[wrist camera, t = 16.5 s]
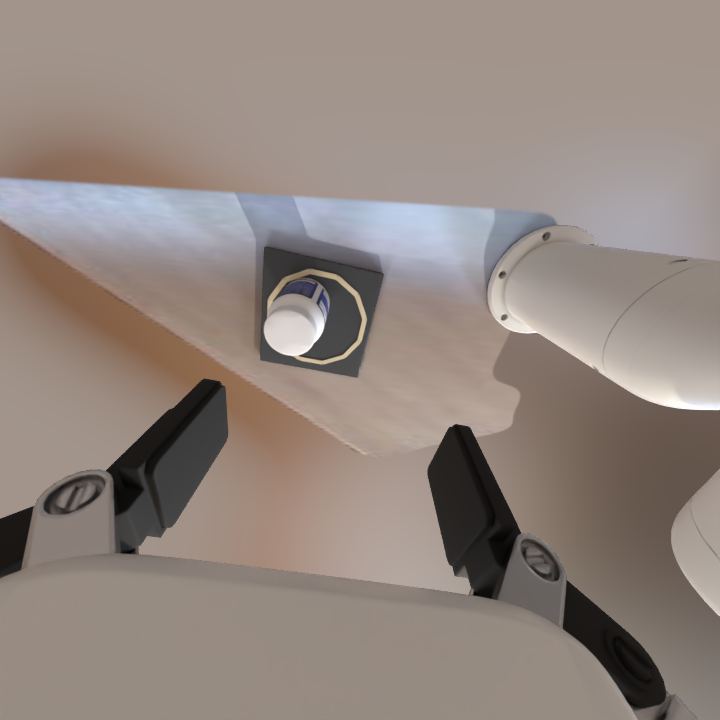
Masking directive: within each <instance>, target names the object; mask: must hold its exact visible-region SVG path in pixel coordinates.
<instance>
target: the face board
mask: <svg viewBox="0 0 720 720" xmlns="http://www.w3.org/2000/svg"><path fill="white" fill-rule="evenodd" d="M383 276H384V274H383V273H379V272H375V271H370V270H366V269H362V268H357V267H353V266H348V265H344V264H340V263H335V262H331V261H326V260H322V259H318V258H313V257H309V256H305V255H300V254H296V253H291V252H287V251H283V250H278V249H274V248H269V247H264V266H263V297H262V327H261V357H260V360H262V361H267V362H273V363H279V364H284V365H290V366H295V367H301V368H306V369H312V370H318V371H323V372H329V373H334V374H340V375H346V376H351V377H358V374H359V370H360V366H361V362H362V358H363V354H364V350H365V347H366V343H367V339H368V335H369V331H370V327H371V323H372V319H373V315H374V311H375V307H376V303H377V300H378V296H379V292H380V288H381V284H382V280H383ZM299 278H309V279H313V280H315V281H317V282H318V283H320V284H321V285H322V286H323V287H324V288H325V290H326V291H327V293H328V296H329V301H330V305H329V311H328V315H327V318H326V322H325V326H324V329H323V332H322V334H321V336H320V337H319V339H318V340H317V341H316V342H314V344H313V346H312V347H311V348H310V349H309V350H308V351H307V352H305V353H303V354H301V355H296V356H290V355H284V354H282V353H279V352H277V351H276V350H274V349H273V348H272V347H271V346H270V345H269V344H268V342H267V340H266V338H265V335H264V324H265V321H266V319H267V314H268V310H269V308H270V306H271V304H272V303H273V302H274V300H275V299H276V298H277V297H278V296H279V295H280V293H281V292H282V291H283V290H284V289H285V288H286V286H287V285H288V284H289V283H291V282H292V281H294V280H296V279H299Z"/></svg>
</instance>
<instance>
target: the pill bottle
mask: <svg viewBox="0 0 720 720" xmlns="http://www.w3.org/2000/svg"><path fill="white" fill-rule="evenodd" d="M329 305H330V301H329V296H328V293H327V291H326V290H325V288H324V287H323V286H322V285H321V284H320V283H318V282H317V281H315V280H313V279H309V278H299V279H296V280H294V281H292V282H291V283H289V284H288V285H287V286H286V288H285V289H284V290H283V291H282V292H281V293H280V295H279V296H278V297H277V298H276V299H275V300H274V302H273V303H272V304H271V306H270V308H269V310H268V314H267V319H266V321H265V324H264V335H265V338H266V340H267V342H268V344H269V345H270V346H271V347H272V348H273V349H274V350H276V351H277V352H279V353H282V354H284V355H290V356H296V355H301V354H303V353H305V352H307V351H308V350H309V349H310V348H311V347H312V346H313V344H314V342H316V341H317V340H318V339H319V337H320V336H321V334H322V332H323V329H324V326H325V322H326V318H327V315H328V311H329Z"/></svg>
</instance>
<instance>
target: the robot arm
mask: <svg viewBox="0 0 720 720" xmlns="http://www.w3.org/2000/svg"><path fill="white" fill-rule="evenodd" d="M542 236H543V237H542ZM500 272H501V274H500V275H499V273H500ZM487 297H488V305H489V308H490V311H491V313H492V315H493V316H494V318H495V319H496V320H497V321H498V322H499V323H500V324H501V325H503V326H504V327H506V328H507V329H510V330H512V331H515V332H519V333H535V332H538V333H539V334H541V335H543V336H544V337H545V338H547V339H549V340H550V341H552V342H553V343H555V344H556V345H558V346H560V347H561V348H563V349H564V350H566V351H567V352H569V353H570V354H572V355H574V356H575V357H577V358H578V359H580V360H581V361H583V362H584V363H586V364H587V365H589V366H591V367H592V368H593V369H595V370H597V371H598V372H600V373H601V374H603V375H604V376H606V377H607V378H609V379H611V380H612V381H614V382H615V383H617V384H619V385H620V386H622V387H623V388H625V389H626V390H628V391H630V392H631V393H633V394H635V395H637V396H639V397H641V398H643V399H645V400H648V401H651V402H653V403H657V404H660V405H664V406H668V407H674V408H681V409H695V410H720V261H717V260H708V259H701V258H700V259H699V258H692V257H684V256H676V255H668V254H660V253H652V252H643V251H635V250H627V249H619V248H611V247H602V246H599V245H598V243H597V242H596V240H595V239H594V237H593V236H592V235H590V234H589V233H588V232H587V231H585V230H583V229H580V228H578V227H574V226H567V225H554V226H549V227H544V228H541V229H538V230H536V231H533V232H531V233H529V234H528V235H526V236H524V237H522V238H521V239H520V240H519V241H517V242H516V243H515V244H513V245H512V246H511V247H510V248H509V249H508V250H507V251H506V253H505V254H504V255H503V256H502V258H501V259H500V260H499V262H498V263H497V265H496V267H495V269H494V271H493V273H492V275H491V278H490V281H489V284H488V292H487ZM227 438H228V423H227V406H226V390H225V386H222V385H221V382H220V381H215V380H209V379H203V380H202V381H201V382H199V384H197V386H195V388H193V389H192V391H190V392H189V393H188V394H187V395H186V396H185V397H184V398H183V399H182V400H181V401H180V402H179V403H178V404H177V405H176V406H175V407H174V408H172V409H169V410H168V411H167V412H166V413H165V414H164V415H163V416H162V417H160V419H158V420H157V422H155V423H154V424H153V425H152V426H151V427H150V428H149V429H148V430H147V431H146V432H145V433H144V434H143V435H142V436H141V437H140V438H139V439H138V440H137V441H136V442H135V443H134V444H133V445H132V446H131V447H130V448H129V449H128V450H127V451H126V452H125V453H124V454H122V455H121V457H119V458H118V459H117V460H116V461H115V462H114V463H113V464H112V465H111V466H110V467H109V468H108V469H107V470H106V471H103V470H99V469H98V470H86V471H81V472H78V473H75V474H72V475H70V476H67V477H65V478H63V479H61V480H60V481H58V482H56V483H54V484H53V485H52V486H50V487H49V488H48V489H47V490H45V491H44V492H43V493H42V495H41V496H40V497H39V498H38V499H37V501H36V503H35V506H33V507H30V508H27V509H25V510H22V511H19V512H17V513H14V514H12V515H9V516H6V517H4V518H1V519H0V720H699V719H698V718H697V717H696V716H695V715H694V714H693V712H691V710H690V709H689V708H688V707H687V706H686V705H685V704H684V703H683V701H682V700H681V699H680V698H679V697H678V696H677V695H676V694H674V695H670V694H669V693H668V692H667V691H666V689H665V685H664V681H663V679H662V677H661V674H660V672H659V670H658V668H657V667H656V665H655V664H654V662H653V660H652V659H651V657H650V656H649V654H648V653H647V652H646V651H645V649H644V648H643V647H642V646H641V645H640V644H639V642H637V641H636V640H635V639H634V638H633V637H632V636H631V635H630V634H629V633H628V632H627V631H626V630H625V629H623V628H622V627H621V626H620V625H619V624H618V623H616V622H615V621H614V620H613V619H612V618H611V617H609V616H608V615H607V614H606V613H605V612H603V611H602V610H601V609H600V608H599V607H598V606H597V605H595V604H594V603H593V602H592V601H591V600H590V599H588V598H587V597H586V596H585V595H584V594H583V593H581V592H580V591H579V590H578V589H577V588H575V587H574V586H573V585H572V584H571V583H570V582H568V581H567V578H566V571H565V569H564V566H563V564H562V562H561V560H560V559H559V557H558V556H557V554H556V553H555V552H554V551H553V550H552V548H551V547H550V546H549V545H547V544H546V543H545V542H544V541H542V540H541V539H540V538H538V537H536V536H534V535H531V534H529V533H522V534H521V532H520V530H519V528H518V525H517V523H516V521H515V519H514V517H513V514H512V512H511V510H510V508H509V506H508V504H507V502H506V500H505V498H504V496H503V494H502V492H501V490H500V488H499V486H498V484H497V482H496V480H495V477H494V475H493V473H492V471H491V469H490V467H489V465H488V463H487V461H486V459H485V457H484V455H483V453H482V451H481V449H480V447H479V445H478V443H477V440H476V438H475V436H474V434H473V432H472V430H471V428H470V427H468V426H463V425H458V424H455V425H453V427H449V428H448V430H447V432H446V434H445V436H444V438H443V440H442V442H441V444H440V446H439V448H438V450H437V452H436V454H435V455H434V457H433V460H432V461H431V463H430V465H429V467H428V479H429V483H430V488H431V492H432V496H433V500H434V505H435V509H436V514H437V518H438V522H439V526H440V530H441V535H442V539H443V544H444V548H445V552H446V557H447V560H448V562H449V564H450V565H451V566H453V571H454V575H455V576H457V577H465V578H468V579H469V582H470V586H471V590H470V592H469V595H465V594H459V593H452V592H446V591H439V590H431V589H424V588H416V587H409V586H401V585H394V584H386V583H378V582H371V581H363V580H354V579H347V578H339V577H332V576H324V575H316V574H308V573H299V572H292V571H284V570H276V569H268V568H259V567H251V566H243V565H234V564H226V563H218V562H209V561H201V560H192V559H182V558H172V557H162V556H152V555H141V554H139V547H138V546H140V545H141V544H142V543H143V541H144V540H145V538H146V537H147V536H152V537H159V538H161V536H162V535H163V533H164V531H165V530H166V529H167V528H170V527H172V526H173V525H174V524H175V523H176V521H177V519H178V518H179V516H180V515H181V513H182V511H183V510H184V508H185V507H186V505H187V503H188V502H189V500H190V499H191V497H192V495H193V494H194V492H195V490H196V489H197V487H198V486H199V484H200V483H201V481H202V480H203V478H204V476H205V475H206V473H207V472H208V470H209V468H210V467H211V465H212V463H213V462H214V460H215V458H216V457H217V455H218V454H219V452H220V450H221V449H222V448H223V446H224V444H225V443H226V441H227ZM671 539H672V548H673V552H674V554H675V557H676V559H677V562H678V564H679V566H680V568H681V570H682V571H683V573H684V575H685V576H686V578H687V579H688V581H689V582H690V583H691V585H692V586H693V587H694V588H695V590H696V591H697V592H698V593H699V595H700V596H701V597H702V598H703V599H704V601H705V602H706V603H707V604H708V605H709V606H710V607H711V608H712V609H713V610H714V611H715V612H716V613H717V614H718V615H719V616H720V469H719V470H718V471H717V472H716V474H714V476H713V477H711V479H710V480H709V481H707V482H706V483H705V485H703V487H702V488H700V489H699V490H698V492H696V493H695V494H694V496H693V497H692V498H691V499H690V500H689V501H688V502H687V503H686V504H685V506H684V507H683V508H682V510H681V511H680V512H679V514H678V515H677V517H676V519H675V521H674V524H673V527H672V532H671Z"/></svg>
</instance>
